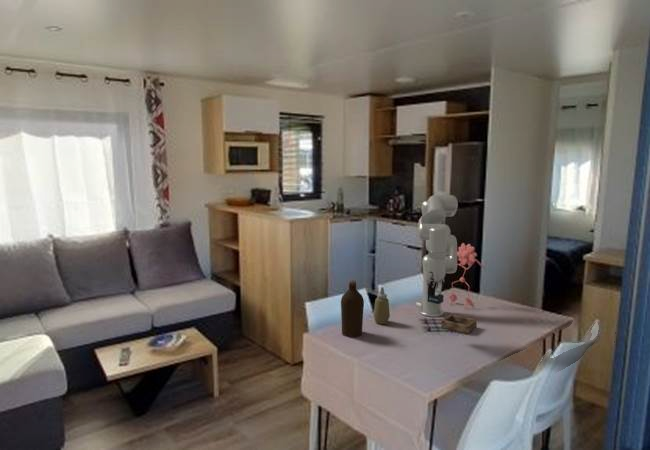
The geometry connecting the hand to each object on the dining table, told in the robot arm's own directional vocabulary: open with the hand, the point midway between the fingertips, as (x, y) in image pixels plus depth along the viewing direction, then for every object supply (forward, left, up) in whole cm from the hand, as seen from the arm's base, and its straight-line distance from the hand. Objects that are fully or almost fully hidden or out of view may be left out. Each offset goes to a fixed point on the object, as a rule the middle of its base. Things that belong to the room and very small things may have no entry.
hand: (435, 292), depth 201 cm
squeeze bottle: (-29, +2, -21) cm, 36 cm away
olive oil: (-32, -19, -21) cm, 43 cm away
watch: (0, 0, -4) cm, 4 cm away
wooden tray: (+4, +19, -21) cm, 29 cm away
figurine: (-8, +56, -21) cm, 61 cm away
